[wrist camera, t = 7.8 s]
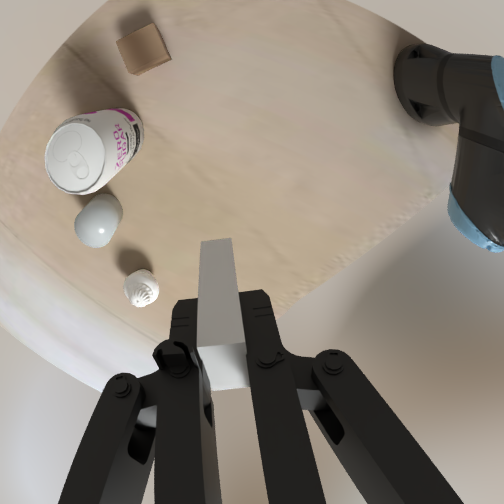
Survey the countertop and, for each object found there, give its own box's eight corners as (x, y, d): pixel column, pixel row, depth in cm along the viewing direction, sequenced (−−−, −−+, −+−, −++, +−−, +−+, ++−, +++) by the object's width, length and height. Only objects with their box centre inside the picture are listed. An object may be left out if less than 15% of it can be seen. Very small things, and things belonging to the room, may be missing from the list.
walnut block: (159, 31, 27) (153, 22, 23) (171, 59, 30) (166, 54, 25) (126, 47, 27) (115, 41, 23) (138, 75, 30) (128, 72, 26)
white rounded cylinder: (117, 189, 38) (105, 204, 33) (127, 225, 41) (117, 244, 36) (84, 198, 37) (69, 213, 32) (95, 231, 40) (82, 250, 35)
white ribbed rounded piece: (152, 257, 45) (145, 283, 39) (167, 285, 48) (163, 312, 42) (121, 267, 45) (111, 293, 39) (137, 293, 48) (130, 320, 42)
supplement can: (83, 129, 32) (27, 151, 19) (128, 96, 31) (85, 98, 18) (109, 173, 36) (67, 214, 24) (155, 143, 35) (127, 170, 23)
